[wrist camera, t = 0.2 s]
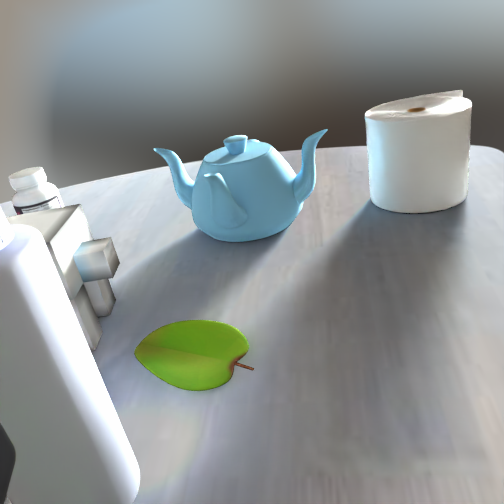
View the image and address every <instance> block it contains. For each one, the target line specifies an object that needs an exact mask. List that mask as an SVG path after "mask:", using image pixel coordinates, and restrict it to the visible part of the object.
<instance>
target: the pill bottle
mask: <svg viewBox="0 0 504 504" xmlns="http://www.w3.org/2000/svg"><path fill="white" fill-rule="evenodd" d="M8 179H9V181H10V184H11V186H12V187H13V189H14V190H16V193H15V194H14V195H13V196H12V204H13V206H14V208H15V211H16V213H17V215H21V214H26V213H32V212H38V211H43V210H49V209H54V208H60V207H64V205H63V202H62V200H61V197H60V195H59V192H58V190H57V188H56V186H54V185H53V184H51V183H46V175H45V173H44V171H43V168H41V167H33V168H28V169H24V170H22V171H19V172H16V173H14V174H12V175H10V176H9V177H8Z"/></svg>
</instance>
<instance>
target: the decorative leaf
mask: <svg viewBox="0 0 504 504" xmlns="http://www.w3.org/2000/svg"><path fill="white" fill-rule="evenodd" d="M248 349H249V345H248V341H247V339H246V337H245V336H244V335H243V334H242V333H241V332H240V331H239V330H238V329H236V328H235V327H233V326H231V325H228V324H225V323H221V322H216V321H209V320H187V321H180V322H175V323H171V324H168V325H165V326H163V327H160V328H158V329H157V330H155V331H153V332H152V333H150V334H149V335H148V336H147V337H145V338H144V339H143V340H142V341H141V342H140V344H139V345H138V346H137V347H136V349H135V351H134V354H135V356H136V358H137V359H138V361H139V362H140V363H141V364H142V365H143V366H144V367H145V368H147V369H148V370H149V371H150V372H152V373H153V374H154V375H156V376H157V377H158V378H160V379H162V380H163V381H165V382H167V383H168V384H171V385H173V386H175V387H178V388H181V389H185V390H191V391H203V390H209V389H213V388H217V387H219V386H221V385H223V384H225V383H226V382H228V381H229V380H230V378H231V377H232V374H233V370H234V365H237V366H240V367H243V368H246V369H249V370H254V368H252V367H249V366H246V365H243V364H240V363H237V361H238V360H239V359H241V358H242V357H243V356H244V355H245V354H246V353H247V351H248Z"/></svg>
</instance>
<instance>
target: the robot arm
mask: <svg viewBox="0 0 504 504" xmlns="http://www.w3.org/2000/svg"><path fill="white" fill-rule="evenodd" d="M15 461H16V451H15V447H14V445H13V443H12V442H11V440H10V438H9V437H8V435H7V433H6V431H5V430H4V428H3V426H2V424H1V423H0V504H4V502H5V498H6V495H7V491H8V487H9V484H10V480H11V476H12V473H13V469H14V465H15Z"/></svg>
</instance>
